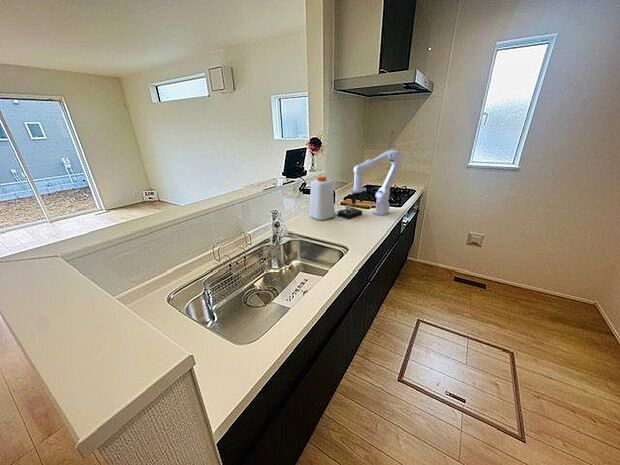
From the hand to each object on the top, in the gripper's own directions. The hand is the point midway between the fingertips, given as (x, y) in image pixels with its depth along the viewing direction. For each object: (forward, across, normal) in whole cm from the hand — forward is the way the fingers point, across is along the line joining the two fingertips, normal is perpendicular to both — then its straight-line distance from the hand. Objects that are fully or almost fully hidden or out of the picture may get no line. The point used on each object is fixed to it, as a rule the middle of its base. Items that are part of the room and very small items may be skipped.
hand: (357, 202), depth 175 cm
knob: (+6, +4, -5) cm, 9 cm away
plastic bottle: (+9, +20, -15) cm, 27 cm away
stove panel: (+9, +3, -4) cm, 11 cm away
